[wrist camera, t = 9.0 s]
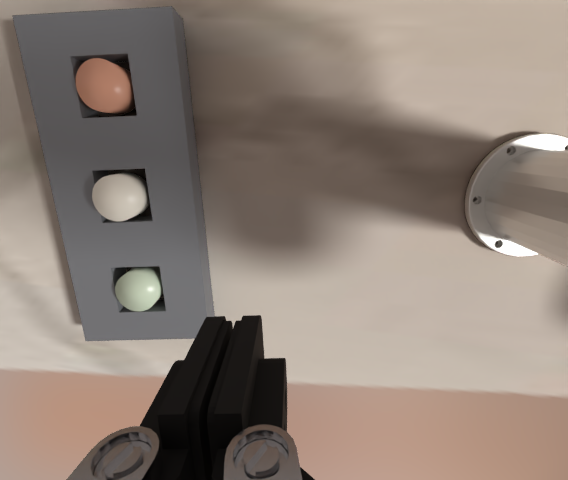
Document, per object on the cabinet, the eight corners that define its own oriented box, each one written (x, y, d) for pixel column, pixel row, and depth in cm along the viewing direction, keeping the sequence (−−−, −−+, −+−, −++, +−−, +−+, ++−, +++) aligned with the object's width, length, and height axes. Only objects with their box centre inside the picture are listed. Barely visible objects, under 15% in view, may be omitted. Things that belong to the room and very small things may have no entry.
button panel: (182, 18, 32) (171, 6, 29) (215, 324, 41) (209, 338, 38) (37, 27, 32) (12, 15, 29) (100, 327, 41) (85, 341, 38)
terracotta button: (135, 64, 32) (120, 56, 30) (142, 113, 34) (128, 110, 31) (90, 66, 33) (70, 59, 30) (99, 115, 34) (81, 112, 31)
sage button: (164, 262, 38) (153, 272, 35) (169, 298, 39) (159, 310, 36) (125, 263, 38) (111, 273, 35) (131, 299, 39) (119, 312, 36)
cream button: (147, 171, 34) (134, 174, 31) (154, 214, 36) (141, 220, 33) (104, 173, 34) (87, 176, 32) (112, 215, 36) (96, 222, 33)
